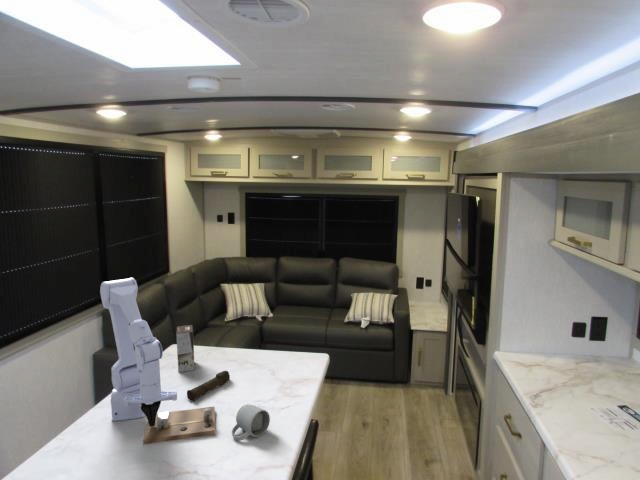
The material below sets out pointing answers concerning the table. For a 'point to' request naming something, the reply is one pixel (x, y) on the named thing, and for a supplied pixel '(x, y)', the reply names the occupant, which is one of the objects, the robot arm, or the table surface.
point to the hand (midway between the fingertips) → (152, 424)
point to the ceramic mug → (251, 421)
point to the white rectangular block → (163, 420)
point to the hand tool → (208, 385)
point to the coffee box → (185, 348)
